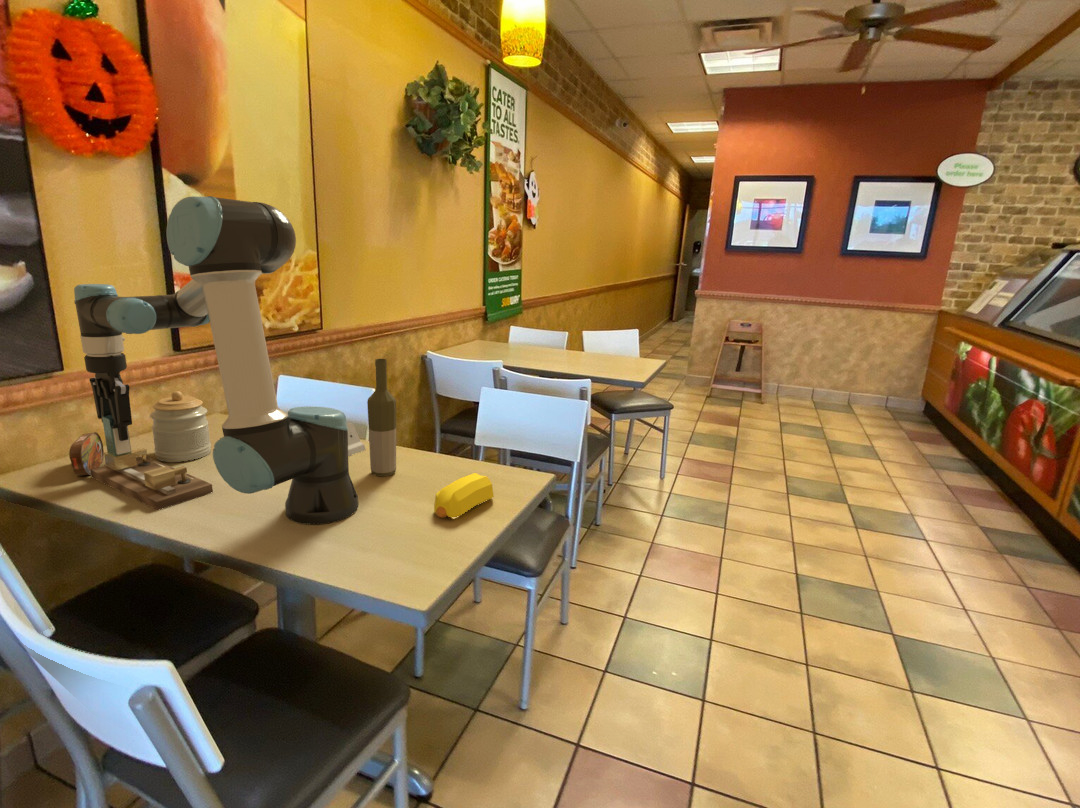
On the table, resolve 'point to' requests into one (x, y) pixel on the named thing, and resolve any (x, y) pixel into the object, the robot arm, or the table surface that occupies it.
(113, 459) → the slider
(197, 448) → the jar
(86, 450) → the tin
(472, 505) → the yellow rounded bar
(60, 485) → the table surface
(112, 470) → the gauge board
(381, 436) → the bottle
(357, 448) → the hinge
